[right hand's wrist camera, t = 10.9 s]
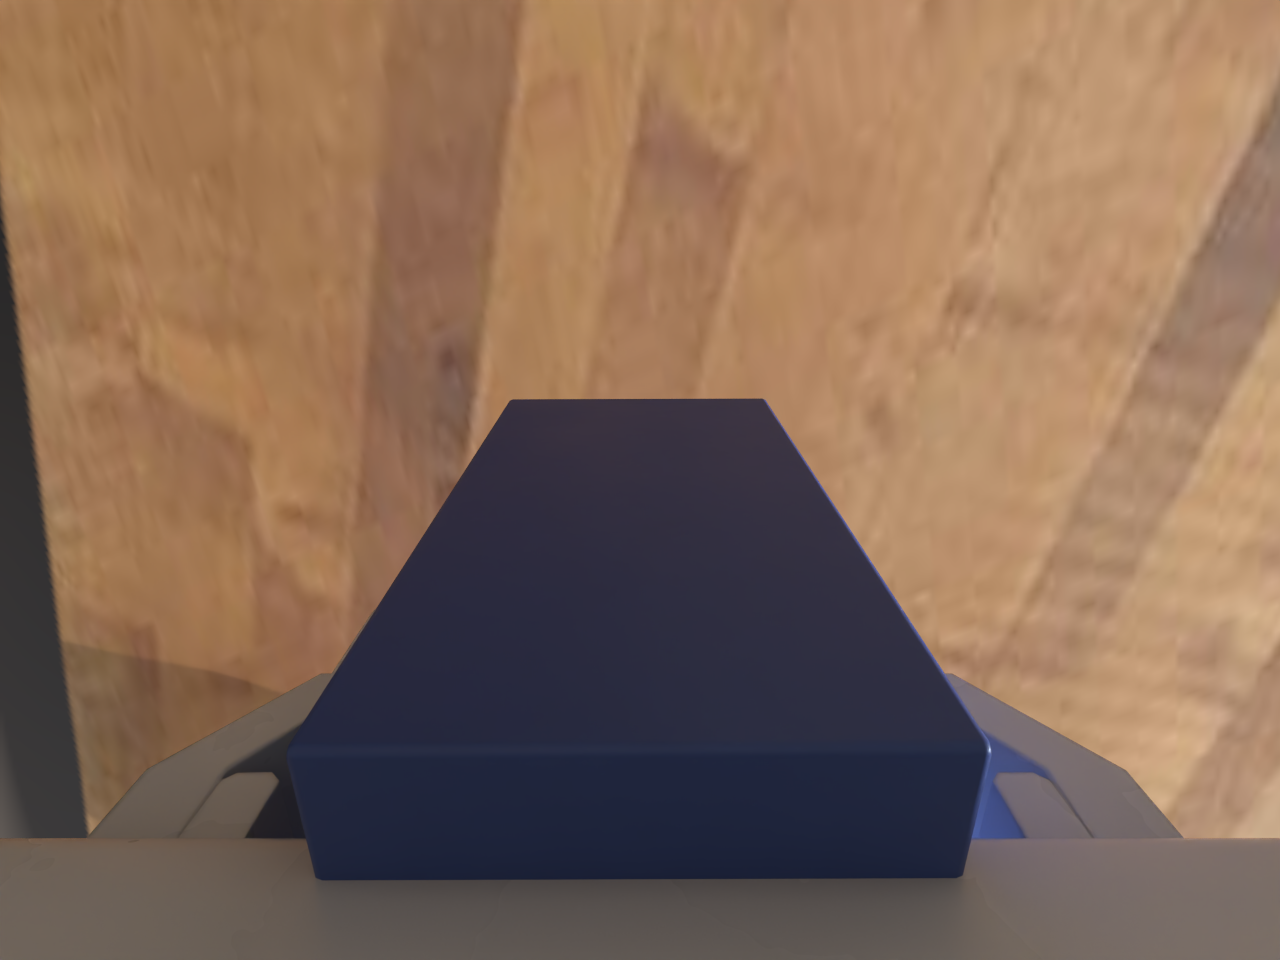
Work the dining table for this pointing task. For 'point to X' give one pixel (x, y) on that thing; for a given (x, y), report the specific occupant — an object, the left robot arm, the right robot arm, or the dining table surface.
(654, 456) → the bar
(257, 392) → the dining table surface
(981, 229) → the dining table surface
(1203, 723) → the dining table surface
